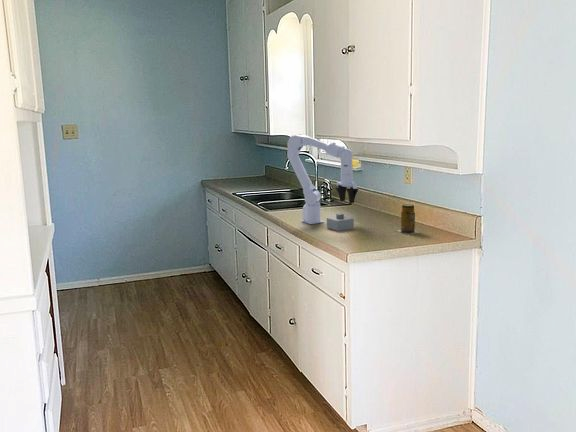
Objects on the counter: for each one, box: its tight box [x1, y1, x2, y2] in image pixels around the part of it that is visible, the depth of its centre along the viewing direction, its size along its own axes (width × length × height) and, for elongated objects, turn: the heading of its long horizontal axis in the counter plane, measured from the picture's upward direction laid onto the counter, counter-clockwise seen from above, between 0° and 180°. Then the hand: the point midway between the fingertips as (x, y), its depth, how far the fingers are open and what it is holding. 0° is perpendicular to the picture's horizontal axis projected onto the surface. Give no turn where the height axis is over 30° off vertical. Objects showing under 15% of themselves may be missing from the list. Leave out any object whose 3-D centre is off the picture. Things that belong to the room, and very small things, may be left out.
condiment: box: [397, 203, 421, 235], centre depth 252 cm, size 7×8×12 cm
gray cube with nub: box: [326, 213, 355, 232], centre depth 265 cm, size 9×9×7 cm
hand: (347, 202), depth 275 cm, fingers open, 7 cm apart
